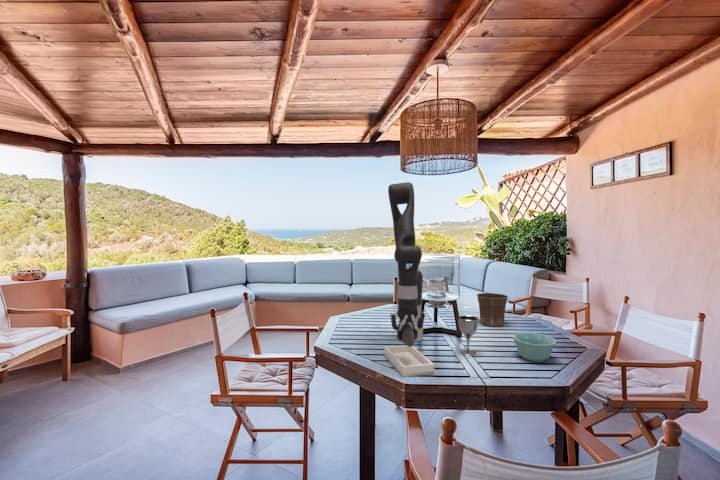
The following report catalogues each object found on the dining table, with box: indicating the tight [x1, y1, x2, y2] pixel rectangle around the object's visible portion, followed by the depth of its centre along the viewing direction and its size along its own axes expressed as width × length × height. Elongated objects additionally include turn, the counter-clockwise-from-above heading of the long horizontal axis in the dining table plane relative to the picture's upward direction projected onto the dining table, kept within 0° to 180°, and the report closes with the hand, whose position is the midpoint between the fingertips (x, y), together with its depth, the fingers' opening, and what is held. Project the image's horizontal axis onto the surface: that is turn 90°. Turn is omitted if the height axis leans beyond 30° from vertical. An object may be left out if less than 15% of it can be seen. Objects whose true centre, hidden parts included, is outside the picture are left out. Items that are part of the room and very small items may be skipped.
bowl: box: [512, 332, 557, 363], centre depth 144 cm, size 16×16×8 cm
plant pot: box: [476, 292, 509, 328], centre depth 195 cm, size 16×16×16 cm
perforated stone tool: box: [401, 323, 415, 347], centre depth 137 cm, size 15×5×7 cm, turn 3°
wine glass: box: [458, 315, 479, 356], centre depth 150 cm, size 8×8×15 cm
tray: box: [384, 344, 435, 378], centre depth 137 cm, size 12×22×4 cm, turn 14°
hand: (407, 339), depth 137 cm, fingers closed on perforated stone tool, 5 cm apart
